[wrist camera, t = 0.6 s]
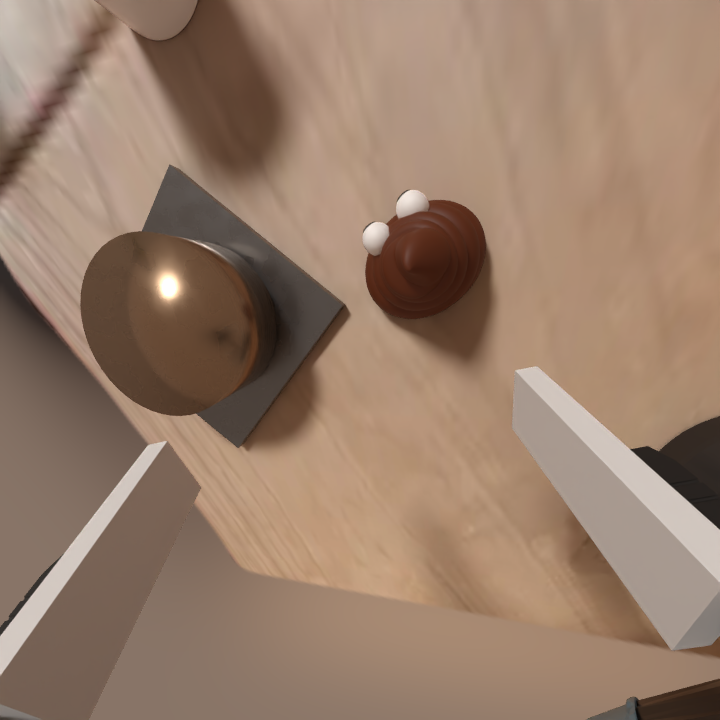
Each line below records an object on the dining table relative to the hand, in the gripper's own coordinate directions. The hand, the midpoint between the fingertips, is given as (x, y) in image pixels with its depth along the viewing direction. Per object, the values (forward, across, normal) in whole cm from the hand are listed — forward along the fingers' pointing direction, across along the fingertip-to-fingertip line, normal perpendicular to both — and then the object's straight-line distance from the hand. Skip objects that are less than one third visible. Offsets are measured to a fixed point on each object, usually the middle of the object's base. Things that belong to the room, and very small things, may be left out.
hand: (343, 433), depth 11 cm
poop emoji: (+18, -7, -1) cm, 19 cm away
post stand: (+21, +14, 0) cm, 25 cm away
